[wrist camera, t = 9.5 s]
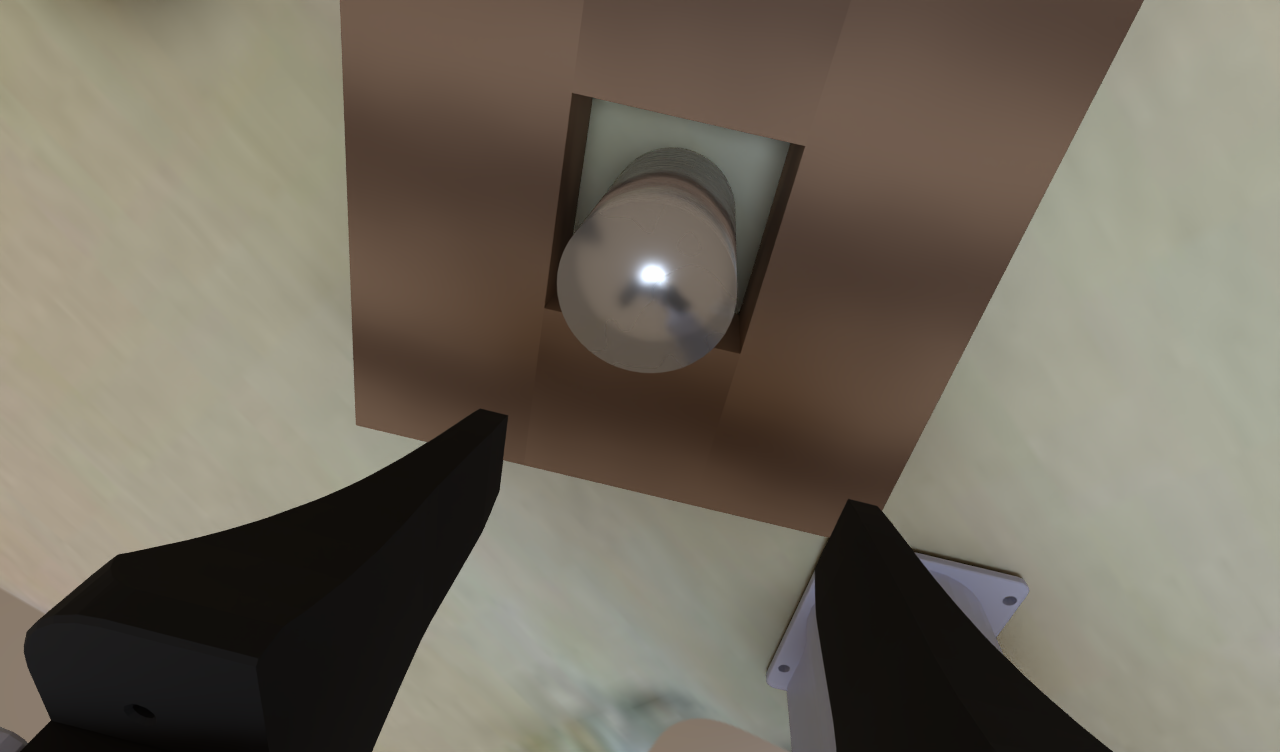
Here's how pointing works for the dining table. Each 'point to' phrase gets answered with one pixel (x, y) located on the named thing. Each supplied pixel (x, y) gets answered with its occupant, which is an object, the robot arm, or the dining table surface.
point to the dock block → (790, 247)
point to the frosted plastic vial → (654, 265)
